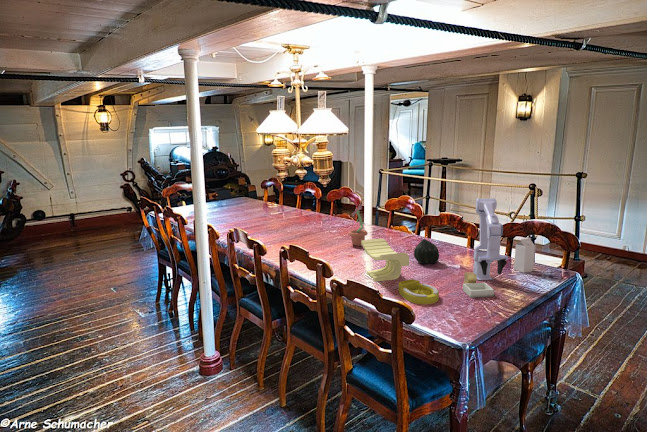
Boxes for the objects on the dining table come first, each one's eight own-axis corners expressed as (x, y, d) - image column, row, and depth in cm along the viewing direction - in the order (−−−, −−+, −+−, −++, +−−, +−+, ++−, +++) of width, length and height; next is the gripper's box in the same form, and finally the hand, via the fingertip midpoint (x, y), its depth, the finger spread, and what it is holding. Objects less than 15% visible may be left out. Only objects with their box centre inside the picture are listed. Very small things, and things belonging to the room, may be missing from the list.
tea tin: (463, 284, 219) (464, 272, 217) (472, 284, 219) (472, 271, 217) (467, 288, 214) (468, 275, 213) (475, 287, 215) (476, 274, 213)
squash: (440, 259, 244) (438, 236, 251) (414, 259, 247) (413, 236, 254) (438, 268, 256) (437, 246, 263) (414, 268, 259) (413, 246, 266)
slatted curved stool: (408, 283, 222) (409, 251, 218) (381, 287, 218) (381, 255, 214) (386, 266, 250) (386, 237, 247) (361, 269, 246) (361, 240, 243)
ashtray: (417, 286, 219) (417, 277, 218) (445, 300, 201) (446, 290, 200) (392, 292, 211) (392, 283, 210) (419, 307, 193) (420, 297, 192)
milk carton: (513, 269, 240) (516, 237, 236) (523, 267, 242) (525, 236, 238) (523, 273, 233) (526, 240, 229) (533, 271, 236) (535, 239, 232)
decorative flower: (353, 240, 308) (352, 201, 301) (370, 242, 302) (370, 202, 295) (345, 246, 295) (344, 204, 288) (363, 248, 289) (363, 205, 282)
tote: (462, 290, 212) (463, 283, 211) (484, 289, 212) (485, 282, 212) (470, 297, 202) (471, 291, 201) (493, 296, 203) (494, 289, 202)
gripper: (483, 251, 198) (481, 277, 201) (512, 249, 200) (510, 276, 203) (476, 247, 205) (475, 272, 208) (504, 245, 207) (502, 271, 210)
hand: (491, 274), depth 206 cm, fingers open, 7 cm apart
